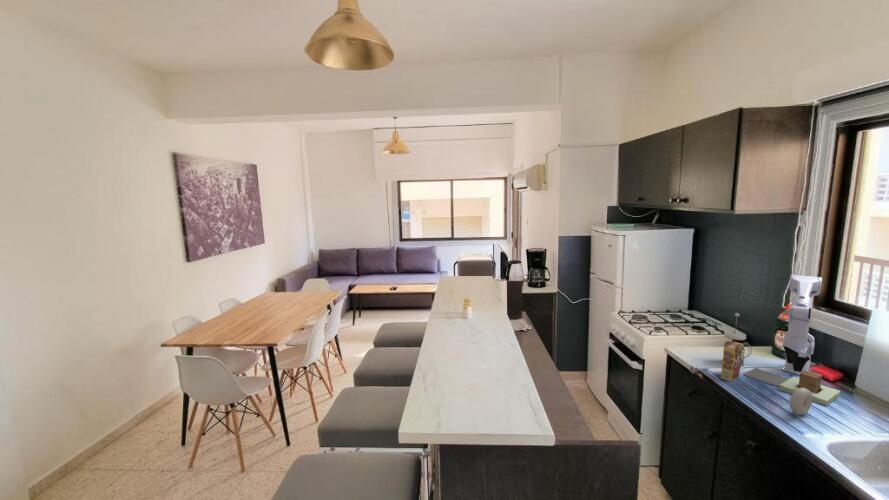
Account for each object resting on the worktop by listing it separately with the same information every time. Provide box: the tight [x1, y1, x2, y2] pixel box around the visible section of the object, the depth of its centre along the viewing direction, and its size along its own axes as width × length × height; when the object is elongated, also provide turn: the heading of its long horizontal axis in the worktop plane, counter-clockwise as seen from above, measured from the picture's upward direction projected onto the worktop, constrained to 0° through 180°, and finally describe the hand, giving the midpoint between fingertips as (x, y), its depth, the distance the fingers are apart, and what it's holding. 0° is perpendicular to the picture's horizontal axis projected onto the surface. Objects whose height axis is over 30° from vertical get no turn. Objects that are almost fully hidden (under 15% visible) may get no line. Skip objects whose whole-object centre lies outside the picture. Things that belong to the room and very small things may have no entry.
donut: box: [789, 388, 813, 416], centre depth 130 cm, size 10×4×10 cm, turn 114°
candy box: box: [720, 341, 744, 382], centre depth 157 cm, size 9×4×15 cm, turn 123°
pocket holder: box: [778, 375, 841, 406], centre depth 145 cm, size 14×14×2 cm
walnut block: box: [798, 370, 823, 394], centre depth 144 cm, size 5×5×8 cm
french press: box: [719, 312, 753, 369], centre depth 169 cm, size 10×12×25 cm
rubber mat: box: [743, 367, 790, 388], centre depth 157 cm, size 12×12×1 cm
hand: (794, 367), depth 145 cm, fingers open, 7 cm apart
